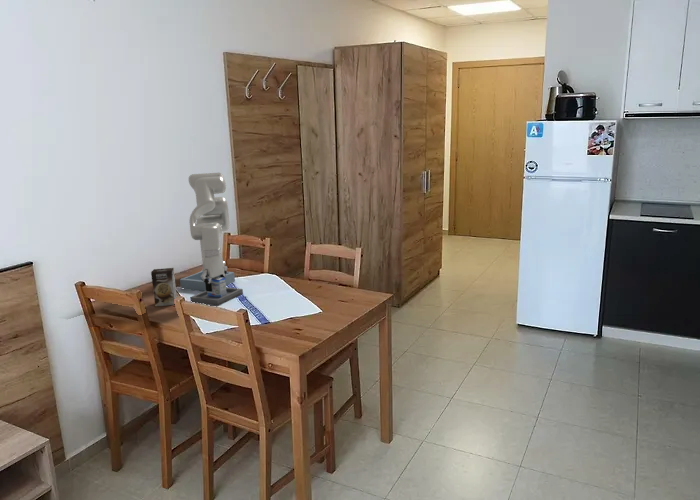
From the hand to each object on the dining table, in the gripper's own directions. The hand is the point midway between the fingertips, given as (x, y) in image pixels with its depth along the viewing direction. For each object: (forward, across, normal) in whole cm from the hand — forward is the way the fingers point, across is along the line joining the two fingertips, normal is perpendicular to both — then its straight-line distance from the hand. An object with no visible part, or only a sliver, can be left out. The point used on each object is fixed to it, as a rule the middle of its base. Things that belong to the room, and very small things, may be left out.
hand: (216, 288), depth 250 cm
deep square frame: (+5, -16, -19) cm, 25 cm away
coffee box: (+5, +14, -18) cm, 23 cm away
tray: (+5, 0, 0) cm, 5 cm away
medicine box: (+4, 0, 0) cm, 4 cm away
